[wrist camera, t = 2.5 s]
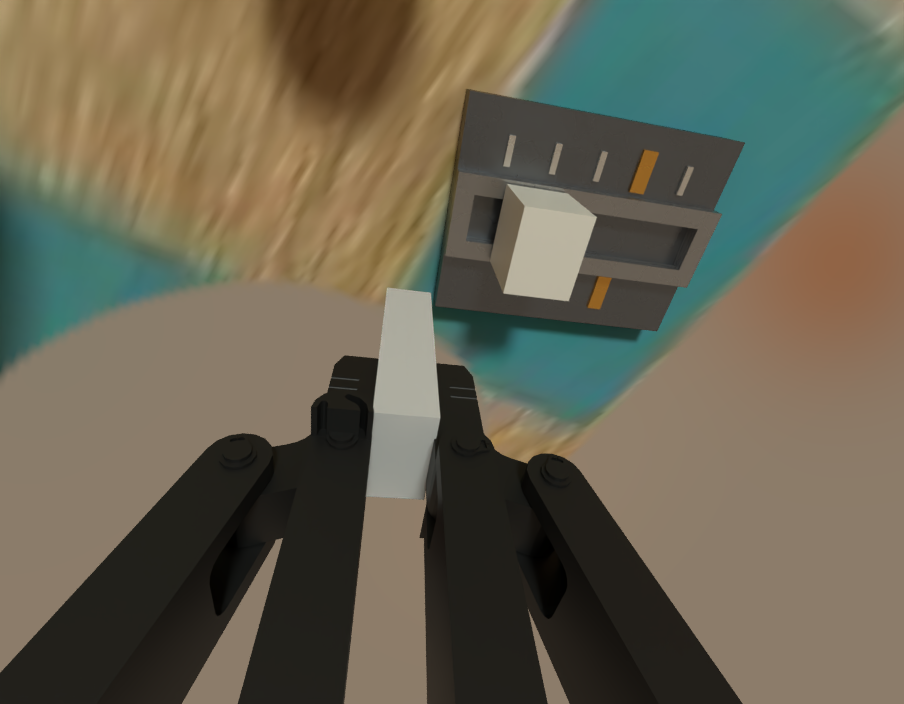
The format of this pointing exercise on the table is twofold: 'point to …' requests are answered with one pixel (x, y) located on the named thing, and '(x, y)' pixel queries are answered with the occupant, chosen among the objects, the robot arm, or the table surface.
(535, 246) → the fader tab
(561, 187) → the console
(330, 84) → the table surface
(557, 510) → the robot arm
